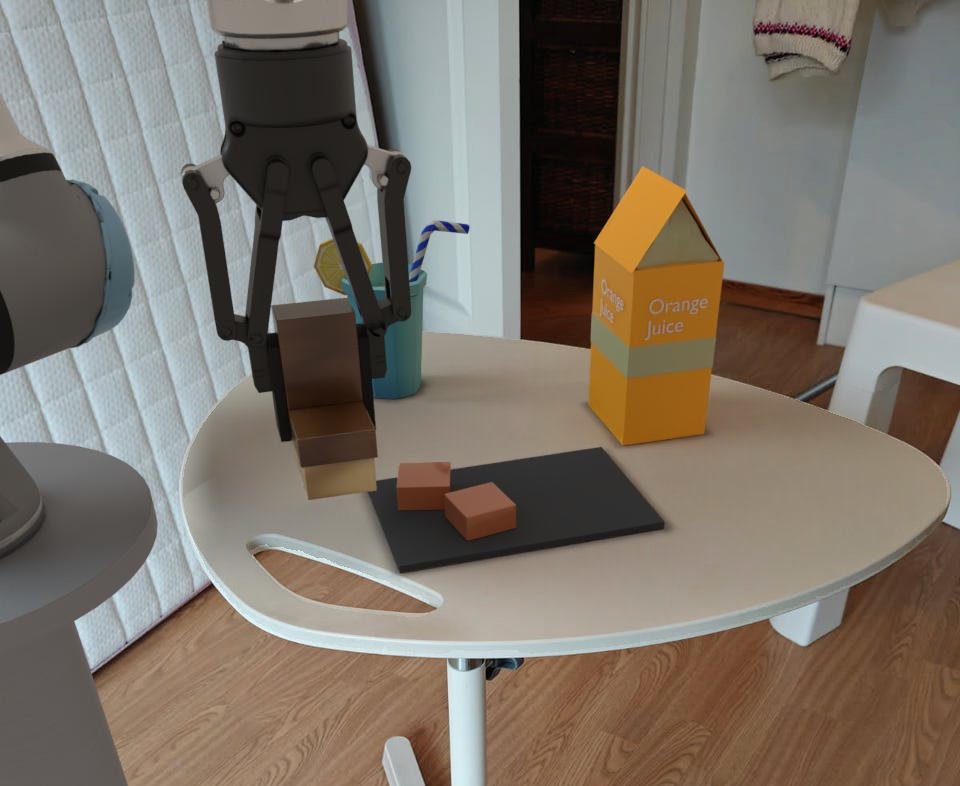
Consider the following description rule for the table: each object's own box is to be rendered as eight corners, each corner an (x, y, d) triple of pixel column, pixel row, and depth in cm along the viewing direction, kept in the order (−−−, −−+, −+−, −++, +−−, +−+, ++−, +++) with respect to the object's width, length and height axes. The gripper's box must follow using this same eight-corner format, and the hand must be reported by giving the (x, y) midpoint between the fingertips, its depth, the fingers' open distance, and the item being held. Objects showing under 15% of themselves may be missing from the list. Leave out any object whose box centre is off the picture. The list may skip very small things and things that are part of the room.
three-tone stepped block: (305, 502, 66) (284, 346, 60) (283, 425, 75) (263, 283, 69) (380, 491, 67) (368, 337, 61) (350, 417, 76) (336, 276, 70)
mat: (399, 573, 71) (398, 566, 71) (366, 488, 81) (365, 481, 81) (664, 528, 75) (664, 521, 75) (601, 452, 85) (601, 446, 85)
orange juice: (665, 394, 94) (686, 161, 82) (706, 434, 87) (735, 186, 75) (585, 405, 93) (595, 169, 81) (620, 446, 86) (637, 195, 74)
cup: (466, 364, 101) (461, 206, 92) (481, 395, 95) (477, 229, 86) (326, 378, 99) (307, 218, 90) (332, 411, 93) (312, 242, 84)
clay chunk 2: (467, 541, 73) (466, 517, 72) (444, 517, 76) (443, 493, 75) (516, 528, 74) (516, 504, 73) (492, 504, 77) (492, 481, 76)
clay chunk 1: (398, 510, 77) (396, 487, 76) (401, 485, 80) (399, 462, 79) (450, 509, 77) (449, 486, 76) (451, 484, 80) (450, 461, 79)
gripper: (110, 56, 51) (195, 470, 65) (457, 38, 55) (466, 433, 69) (112, 37, 57) (189, 421, 71) (426, 22, 60) (440, 390, 75)
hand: (326, 427), depth 70 cm, fingers closed on three-tone stepped block, 5 cm apart
